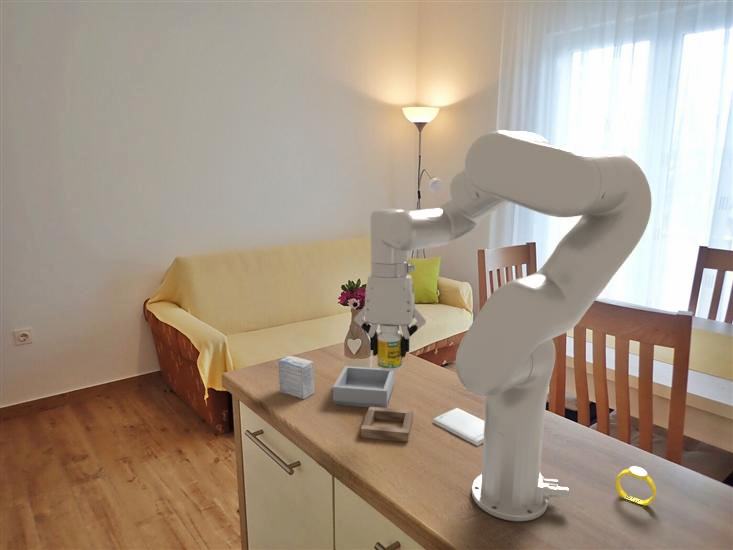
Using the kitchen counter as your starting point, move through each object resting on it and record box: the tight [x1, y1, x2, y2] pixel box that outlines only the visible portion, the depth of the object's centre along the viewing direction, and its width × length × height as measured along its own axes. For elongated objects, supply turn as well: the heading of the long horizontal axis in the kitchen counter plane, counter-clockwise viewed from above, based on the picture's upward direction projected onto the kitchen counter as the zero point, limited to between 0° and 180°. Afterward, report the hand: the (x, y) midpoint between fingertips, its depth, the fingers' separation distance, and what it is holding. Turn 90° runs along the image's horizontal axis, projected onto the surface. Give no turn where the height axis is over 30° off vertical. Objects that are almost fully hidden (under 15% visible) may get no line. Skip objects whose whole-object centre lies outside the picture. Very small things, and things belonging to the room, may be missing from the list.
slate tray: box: [332, 365, 395, 408], centre depth 127 cm, size 13×13×4 cm
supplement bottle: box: [376, 325, 404, 372], centre depth 108 cm, size 5×5×10 cm
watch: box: [615, 465, 657, 507], centre depth 87 cm, size 6×3×6 cm, turn 51°
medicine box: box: [278, 355, 315, 400], centre depth 128 cm, size 8×4×9 cm, turn 58°
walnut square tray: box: [360, 407, 414, 442], centre depth 112 cm, size 10×10×2 cm
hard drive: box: [432, 407, 485, 447], centre depth 112 cm, size 2×8×12 cm
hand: (389, 353), depth 108 cm, fingers closed on supplement bottle, 5 cm apart
